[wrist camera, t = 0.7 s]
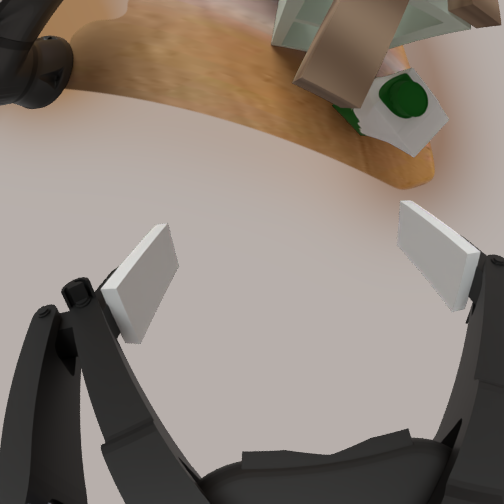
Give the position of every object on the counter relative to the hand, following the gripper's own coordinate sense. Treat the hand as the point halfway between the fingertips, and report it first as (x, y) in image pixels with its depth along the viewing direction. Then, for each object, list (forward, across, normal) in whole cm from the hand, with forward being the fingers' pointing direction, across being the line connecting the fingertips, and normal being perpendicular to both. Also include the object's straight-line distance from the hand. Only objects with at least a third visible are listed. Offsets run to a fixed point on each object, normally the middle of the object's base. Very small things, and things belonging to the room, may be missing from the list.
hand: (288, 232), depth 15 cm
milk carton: (+34, +16, +8) cm, 38 cm away
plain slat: (+2, +10, +19) cm, 22 cm away
